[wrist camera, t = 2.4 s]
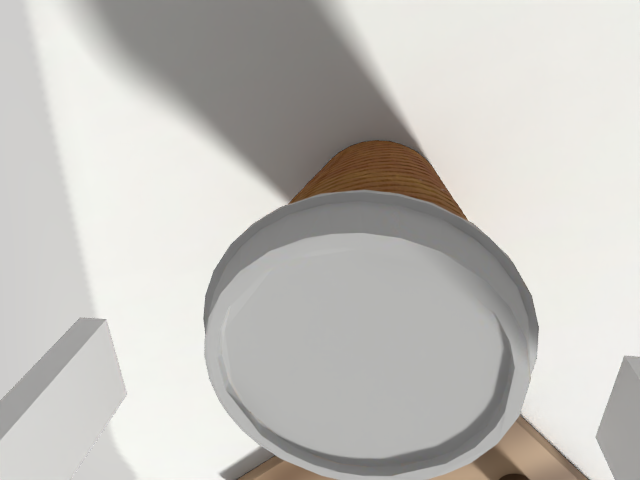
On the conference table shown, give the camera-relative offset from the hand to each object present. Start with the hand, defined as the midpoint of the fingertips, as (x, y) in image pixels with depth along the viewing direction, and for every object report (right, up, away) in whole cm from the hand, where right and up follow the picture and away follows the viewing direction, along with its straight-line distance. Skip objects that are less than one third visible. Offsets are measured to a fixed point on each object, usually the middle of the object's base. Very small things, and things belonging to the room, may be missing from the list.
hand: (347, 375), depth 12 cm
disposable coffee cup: (+2, +5, +11) cm, 12 cm away
